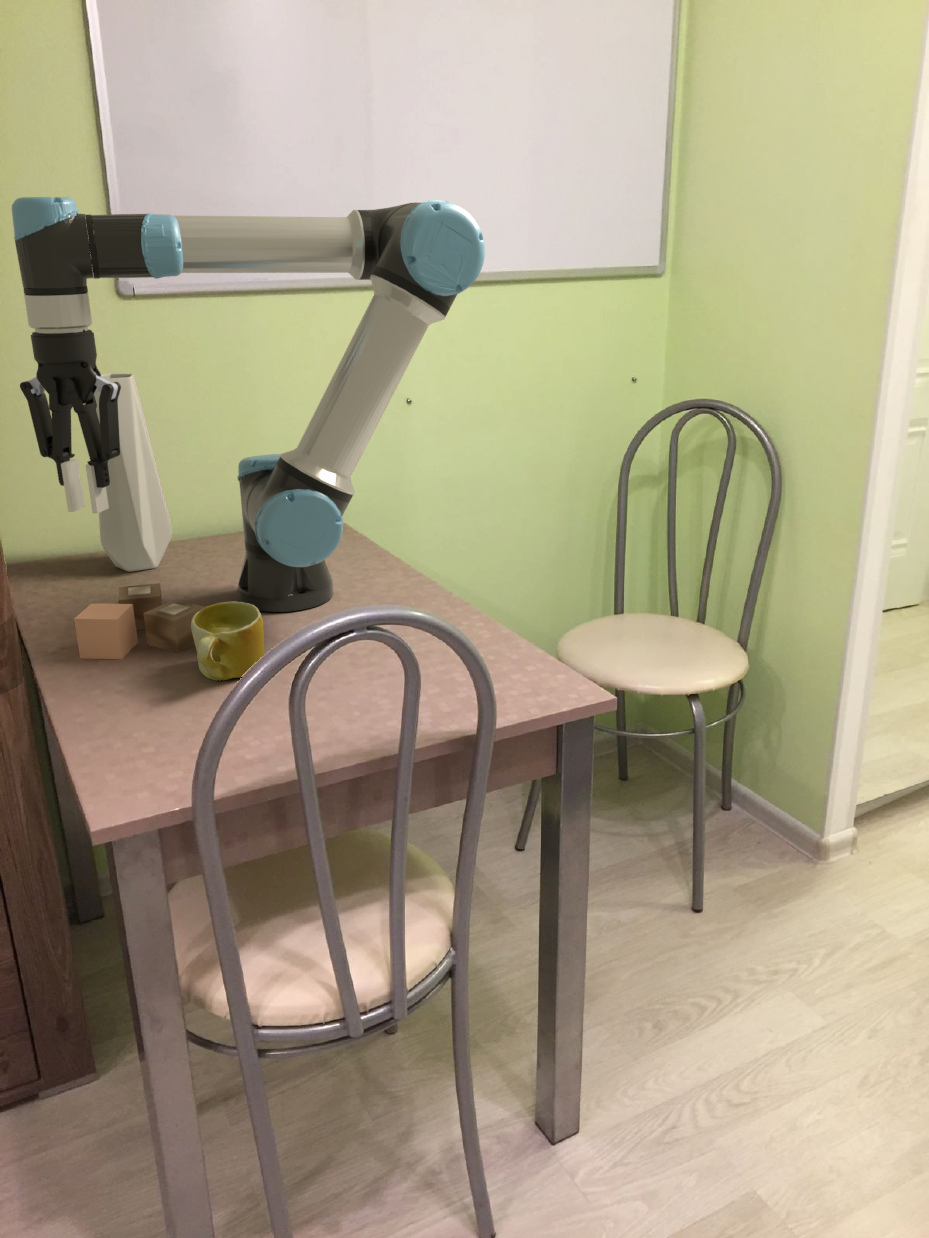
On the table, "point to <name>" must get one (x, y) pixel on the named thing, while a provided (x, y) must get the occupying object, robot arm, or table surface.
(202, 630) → the mug
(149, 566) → the vase
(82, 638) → the plain block
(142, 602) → the walnut block
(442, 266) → the robot arm
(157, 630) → the walnut block
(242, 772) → the table surface
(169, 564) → the table surface
